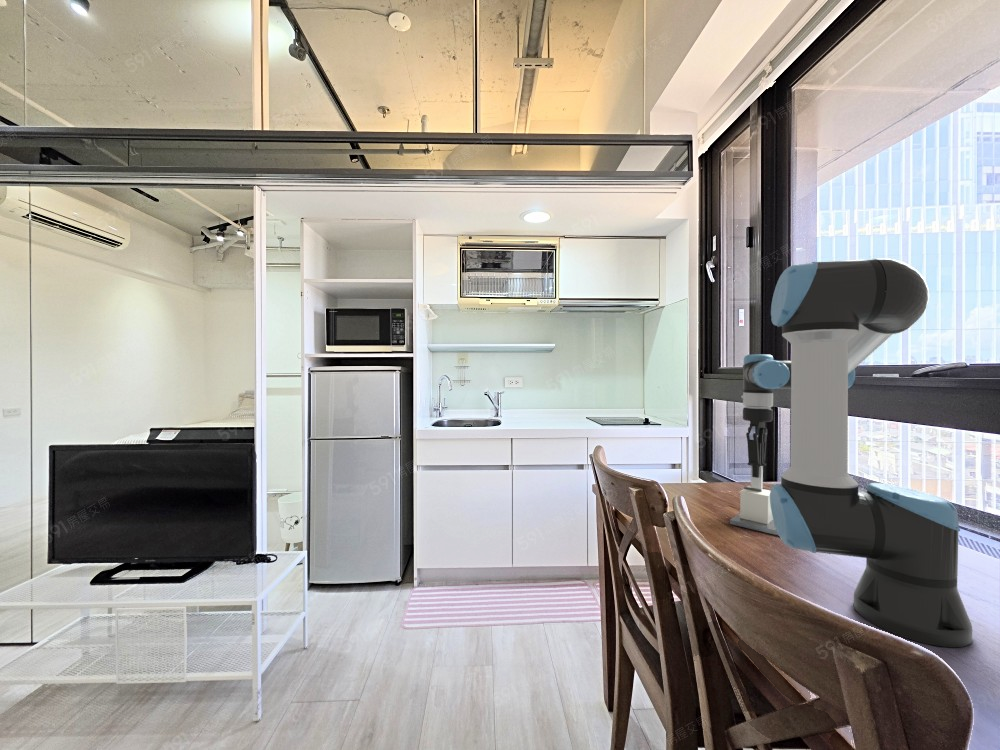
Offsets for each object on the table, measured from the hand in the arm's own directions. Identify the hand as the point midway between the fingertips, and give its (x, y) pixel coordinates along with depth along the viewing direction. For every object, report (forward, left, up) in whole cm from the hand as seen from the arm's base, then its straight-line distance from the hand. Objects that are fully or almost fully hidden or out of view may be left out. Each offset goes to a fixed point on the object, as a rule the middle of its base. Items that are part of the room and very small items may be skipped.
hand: (756, 487), depth 124 cm
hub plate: (0, -2, -10) cm, 10 cm away
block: (0, 0, -9) cm, 9 cm away
